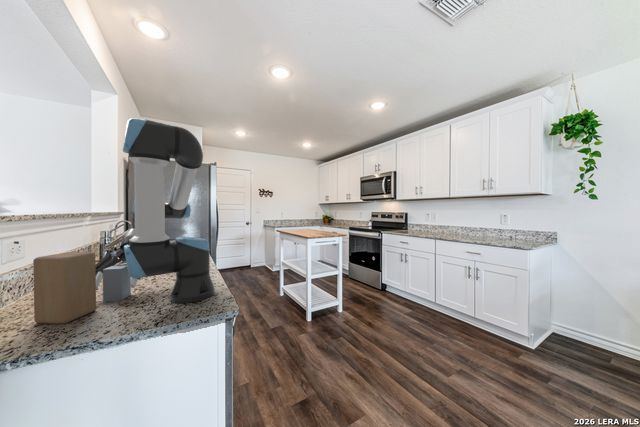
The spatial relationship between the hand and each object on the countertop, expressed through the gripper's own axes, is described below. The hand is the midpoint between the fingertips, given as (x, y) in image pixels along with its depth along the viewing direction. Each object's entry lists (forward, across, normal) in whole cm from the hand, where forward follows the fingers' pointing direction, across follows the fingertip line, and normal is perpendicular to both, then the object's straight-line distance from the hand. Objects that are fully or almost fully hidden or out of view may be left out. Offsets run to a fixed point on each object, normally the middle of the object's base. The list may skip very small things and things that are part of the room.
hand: (113, 287), depth 88 cm
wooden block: (+12, +6, +5) cm, 15 cm away
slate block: (+2, 0, -5) cm, 6 cm away
